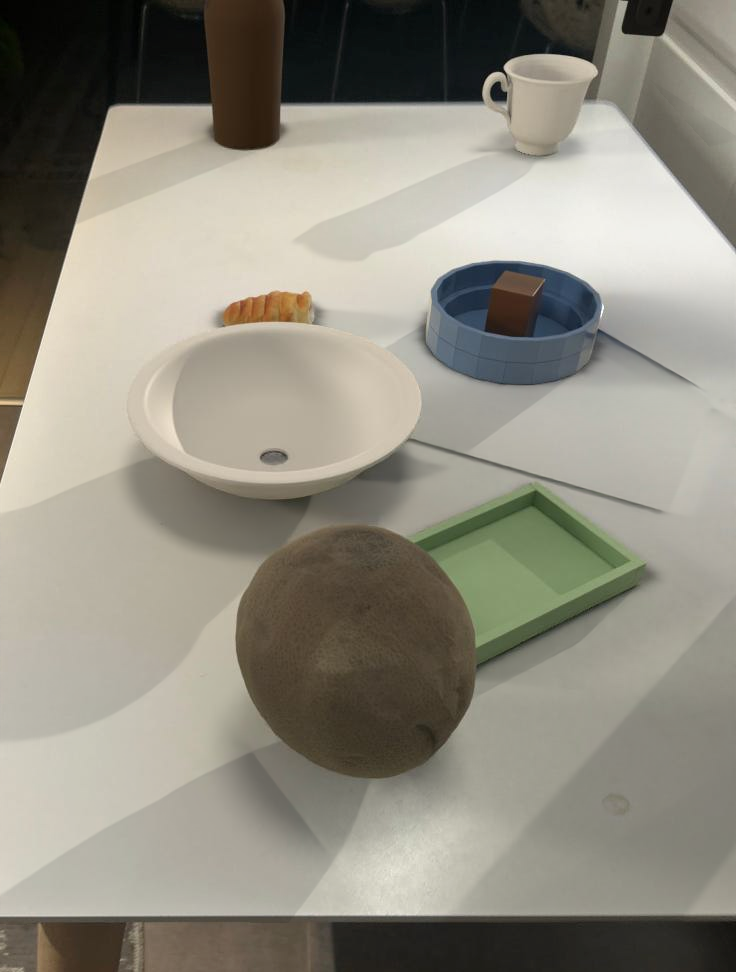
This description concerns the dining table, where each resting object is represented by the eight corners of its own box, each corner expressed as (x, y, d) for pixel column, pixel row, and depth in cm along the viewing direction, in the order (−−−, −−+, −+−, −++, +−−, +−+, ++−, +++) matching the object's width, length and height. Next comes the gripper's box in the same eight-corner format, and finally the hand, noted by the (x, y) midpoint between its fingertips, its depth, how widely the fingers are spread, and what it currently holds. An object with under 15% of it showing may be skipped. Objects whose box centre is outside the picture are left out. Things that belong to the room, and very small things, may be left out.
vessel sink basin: (105, 538, 76) (93, 470, 71) (165, 378, 92) (159, 314, 87) (409, 563, 73) (419, 494, 68) (416, 393, 89) (424, 328, 85)
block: (495, 327, 97) (505, 270, 92) (533, 336, 95) (545, 278, 91) (481, 345, 94) (491, 287, 90) (520, 354, 93) (532, 296, 89)
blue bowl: (513, 292, 103) (522, 247, 99) (625, 358, 93) (639, 310, 90) (392, 333, 97) (397, 286, 94) (499, 407, 88) (508, 358, 84)
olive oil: (250, 157, 131) (246, -65, 113) (194, 140, 136) (182, -76, 118) (299, 136, 136) (302, -80, 118) (244, 120, 141) (239, -90, 123)
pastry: (220, 345, 96) (218, 309, 93) (225, 313, 101) (224, 278, 98) (313, 347, 96) (314, 311, 93) (314, 314, 100) (315, 279, 98)
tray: (531, 502, 78) (536, 481, 76) (639, 583, 71) (646, 562, 70) (356, 579, 72) (357, 558, 70) (454, 677, 65) (459, 656, 63)
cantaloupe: (448, 657, 66) (482, 482, 55) (466, 833, 56) (512, 662, 46) (246, 650, 67) (240, 476, 56) (229, 821, 57) (219, 651, 46)
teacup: (460, 138, 135) (470, 58, 128) (559, 130, 137) (575, 50, 130) (489, 170, 127) (502, 86, 120) (595, 160, 129) (614, 77, 121)
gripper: (792, -263, 58) (695, 53, 71) (757, -283, 70) (679, -8, 82) (665, -267, 60) (592, 45, 72) (651, -285, 71) (590, -14, 84)
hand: (638, 16), depth 77 cm, fingers open, 9 cm apart
